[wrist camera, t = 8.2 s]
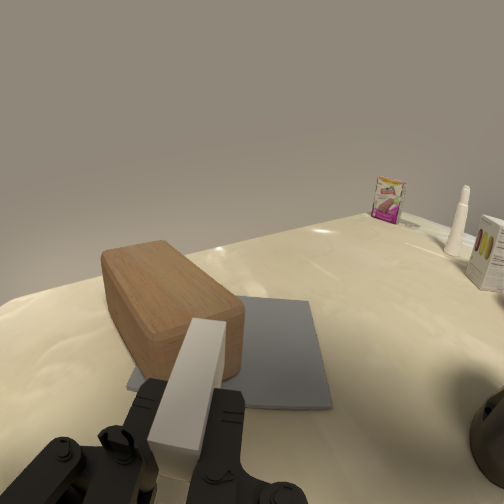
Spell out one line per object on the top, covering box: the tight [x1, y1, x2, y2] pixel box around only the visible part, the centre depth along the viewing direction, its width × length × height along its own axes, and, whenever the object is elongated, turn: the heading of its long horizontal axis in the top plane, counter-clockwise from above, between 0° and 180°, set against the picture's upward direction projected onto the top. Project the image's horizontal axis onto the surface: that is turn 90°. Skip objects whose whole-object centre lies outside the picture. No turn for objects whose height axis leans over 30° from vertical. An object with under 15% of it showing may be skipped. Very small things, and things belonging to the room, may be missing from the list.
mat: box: [126, 296, 332, 410], centre depth 38 cm, size 22×22×1 cm
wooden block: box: [101, 240, 245, 383], centre depth 34 cm, size 10×10×20 cm
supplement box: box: [465, 215, 504, 292], centre depth 57 cm, size 10×9×17 cm
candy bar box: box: [371, 176, 407, 224], centre depth 106 cm, size 11×5×16 cm, turn 45°
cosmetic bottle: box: [443, 185, 470, 257], centre depth 75 cm, size 6×6×22 cm
